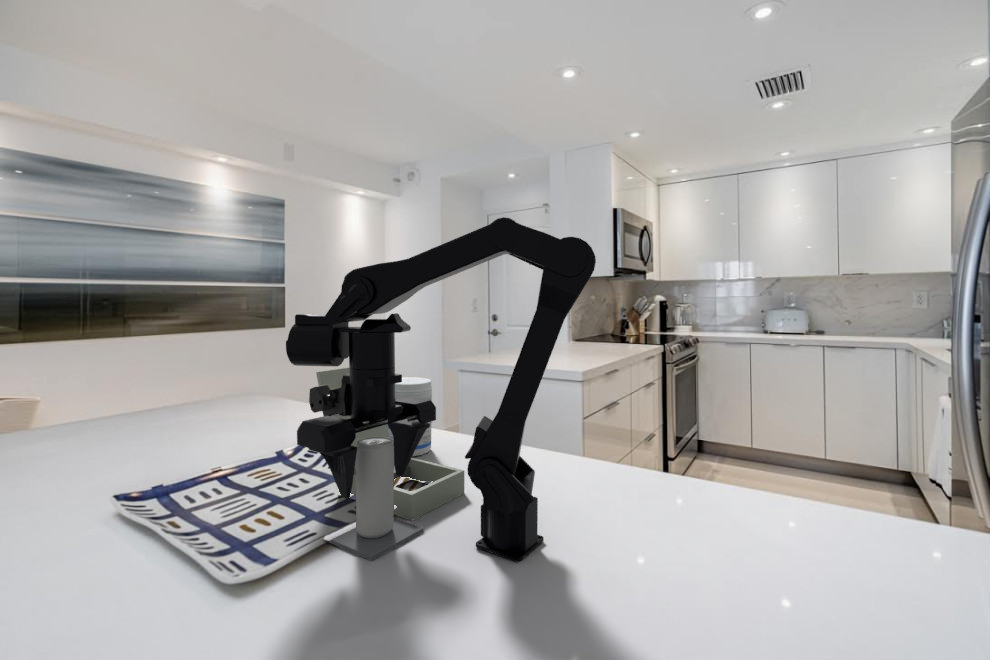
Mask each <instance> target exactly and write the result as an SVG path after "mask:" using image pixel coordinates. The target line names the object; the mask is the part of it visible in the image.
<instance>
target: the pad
mask: <svg viewBox="0 0 990 660" xmlns="http://www.w3.org/2000/svg"><path fill="white" fill-rule="evenodd" d="M423 532H424V527H422V526H419V525H416V524H413V523H410V522H407V521H404V520H403V519H402V520H401V519H399V518H396V517H395V516H393V528H392V530H391V531H390V532H389V533H388V534H386V535H384V536H382V537H379V538H365V537H362V536H360V535H359V533H358V532H357V530H356V529H354V530H352V531H350V532H348V533H346V534H344V535H342V536H340V537H338V538H335V539H333V540H332V541H331V542H328V543H330V544H331V545H334V546H337V547H339V548H340V549H343V550H345V551H347V552H350V553H352V554H354V555H357V556H359V557H362V558H364V559H365V560H368V561H371V562H373V561H375V560H377V559H378V558H380V557H382V556H383V555H385V554H386V553H389V552H391V551H392V550H394V549H395V548H397V547H399V546H401V545H403V544H404V543H406V542H408V541H409V540H411V539H413V538H415V537H416V536H418V535H420V534H421V533H423Z"/></svg>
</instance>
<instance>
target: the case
mask: <svg viewBox="0 0 990 660" xmlns="http://www.w3.org/2000/svg"><path fill="white" fill-rule="evenodd" d="M397 477H400V476H398V475H396V472H395V464H394V479H395V478H397ZM401 477H410V478H412V479H416V480H420V481H433V482H432V483H430V484H428V485H426V484H425V485H423V486H422V487H420V488H419V487H418V488H417V489H415V490H413V491H410V490H407V489H403V488H400V487H398V486H397V487H394V505H396V506H397V508H396V509H395V510H394V513H393V516H397V517H401V518H403V519H406V520H409V521H414V520H416V519H418V518H420V517H422V516H424V515H426V514H428V513H429V512H432V511H433V510H435V509H437V508H439V507H441V506H442V505H444V504H446V503H449V502H450V501H452V500H455V498H458V497H460V496H462V495H463V494H465V470H463V469H460V468H456V467H452V466H448V465H443V464H441V463H440V464H439V463H436V462H431V461H427V460H422V459H420V458H415V457H412V458H411V460H410V462H409V464H408V466H407V468H406V471H405V473H404V475H403V476H401ZM351 494H354V495H356V466H355V469H354V476H353V484H352V489H351Z"/></svg>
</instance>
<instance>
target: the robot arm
mask: <svg viewBox="0 0 990 660" xmlns="http://www.w3.org/2000/svg"><path fill="white" fill-rule="evenodd" d="M504 255H508V256H512V257H514V258H517V259H518V260H520V261H523V262H525V263H526V264H528V265H531V266H533V267H535V268H537V269H540V270H542V274H541V280H540V286H539V293H538V298H537V305H536V309H535V312H534V315H533V317H532V321H531V323H530V325H529V328H528V331H527V333H526V336H525V340H523V345H522V347H521V349H520V352H519V355H518V357H517V361H516V363H515V365H514V368H513V371H512V374H511V375H510V376H511V377H510V379H509V382H508V383H507V387H506V389H505V393H504V394H503V395H504V396H503V397H502V401H501V402H500V406H499V408H498V410H497V413H496V415H495V416H494V417H493V419H491V418H490V417H488V416H486V415H484V416H482V418H481V419H480V421H479V423H478V424H477V426H476V428H475V431H474V436H473V442H472V445H471V446H470V447H469V449H468V451H467V453H465V455H464V459H466V460H467V459H469V461H468V462H467V470H466V471H467V475H468V477H469V479H470V482H471V483H472V484H473V485H474V487H476V489H478V490H479V491H480V493H481V496H482V504H481V505H480V536H481V538H480V539H479V540H477V541H475V547H476V548H477V549H480V550H482V551H485V552H488V553H491V554H493V555H496V556H499V557H503V558H505V559H508V560H511V561H513V562H521V561H522V560H524V558H526V557H527V556H528V555H529V554H530V553H531V552H533V551H534V550H535V549H536V548H538V547H539V546H540V545H541V544H542V543H544V536H543V535H540V534H538V520H539V519H538V513H539V512H538V509H539V507H538V506H539V504H538V503H539V501H538V500H539V499H538V498H539V497H537V496H533V488H534V481H535V475H536V471H535V469H534V468H533V467H531V465H529V463H528V462H526V460H524V459H523V457H521V451H522V450H521V449H522V444H523V438H524V433H525V427H526V423H527V419H528V416H529V413H530V410H531V408H532V406H533V403H534V401H535V398H536V394H537V393H538V390H539V386H540V385H541V382H542V379H543V376H544V374H545V371H546V369H547V367H548V363H549V360H550V358H551V356H552V354H553V350H554V348H555V345H556V342H557V339H558V337H559V335H560V332H561V329H562V326H563V324H564V321H565V320H566V317H567V316H568V314H569V313H570V312H571V310H572V308H573V306H574V305H575V303H576V302H577V300H578V299H579V297H580V295H581V294H582V292H583V290H584V288H585V286H586V285H587V283H588V282H589V280H590V279H591V276H592V275H593V273H594V270H595V267H596V263H597V262H596V261H597V260H596V255H595V252H594V250H593V247H592V246H591V245H590V244H589V243H588V242H587V241H586V240H583V239H582V238H581V237H576V236H565V237H562V238H558V237H556V236H554V235H551V234H549V233H546V232H544V231H541V230H538V229H534V228H532V227H529V226H526V225H523V224H521V223H518V222H517V221H515V220H513V219H512V218H510V217H499V218H496V219H495V220H494V221H492V222H491V223H490V224H486V225H485V226H482V227H479V228H477V229H475V230H473V231H471V232H468V233H466V234H463V235H461V236H458V237H456V238H454V239H452V240H449V241H447V242H444V243H442V244H439V245H437V246H435V247H432V248H430V249H428V250H425V251H423V252H420V253H419V254H415V255H413V256H411V257H409V258H406V259H400V260H395V261H389V262H388V261H387V262H381V263H377V264H371V265H367V266H363V267H358V268H357V267H356V268H355V269H352V270H350V271H348V273H346V275H345V276H344V278H343V282H342V284H341V290H340V291H341V292H340V293H339V295H338V297H336V299H335V301H334V302H333V303H332V305H331V306H330V307H329V309H328V311H327V312H326V314H325V315H316V314H313V313H311V314H310V313H301V314H295V315H294V324H293V325H292V326H291V328H290V330H289V332H288V336H287V339H286V340H285V351H286V356H287V358H288V361H289V362H290V363H291V364H292V365H293V366H296V367H297V366H299V367H340V366H341V365H342V364H343V363H344V361H345V359H348V362H349V363H348V368H349V375H343V378H342V380H341V383H342V385H341V387H340V388H338V389H333V390H330V388H329V387H328V385H322V386H319V385H317V386H313V387H311V388H309V396H308V397H309V399H308V403H309V406H310V411H312V412H313V413H320V412H322V415H323V416H319V417H314V418H310V419H306V420H302V422H301V423H300V425H298V427H297V430H296V442H297V443H296V445H297V446H301V447H304V448H306V449H307V448H308V450H309V451H311V452H316V453H319V454H320V455H321V456H322V457H323V459H324V461H325V462H326V464H327V466H328V468H329V470H330V472H331V474H332V477H333V480H334V482H335V484H336V485H335V486H336V487H337V490H338V489H339V492H340V494H341V496H340V497H341V498H343V499H348V498H349V497H350V493H351V489H352V484H353V476H354V469H355V462H356V454H357V447H355V446H351V444H352V443H353V441H354V440H355V438H356V433H358V432H361V431H365V430H369V429H372V428H376V427H379V426H383V425H386V424H387V425H388V426H389V428H390V430H391V432H392V434H393V441H394V464H395V472H396V475H398V476H403V475H404V473H405V471H406V468H407V466H408V464H409V462H410V460H411V458H413V457H412V455H413V453H414V451H415V449H416V447H417V445H418V443H419V442H420V440H421V438H422V436H423V434H424V433H425V431H426V429H427V428H429V427H430V423H428V422H431V423H432V422H433V421H436V420H437V407H436V405H435V404H434V402H433V400H432V401H431V400H427V399H420V398H413V397H406V398H401V399H397V400H395V383H400V382H402V377H403V375H402V374H400V373H396V357H395V356H396V345H395V342H396V341H395V335H396V334H395V333H399V334H400V333H406V332H410V331H411V325H410V324H408V323H407V322H406V321H404V320H403V319H402V317H401V316H400V314H399V313H396V312H395V313H391V314H390V315H388V317H387V318H386V319H385V318H384V319H383V318H382V319H381V318H376V319H375V318H370V317H372V316H373V315H379V314H380V315H381V314H385V313H388V312H391V311H392V310H394V309H395V308H397V307H399V306H400V305H402V304H403V303H405V302H406V301H408V300H409V299H410V298H411V297H413V296H414V295H415V294H417V293H418V292H419V291H421V290H422V289H424V288H426V287H428V286H430V285H432V284H435V283H437V282H440V281H442V280H445V279H448V278H450V277H452V276H455V275H457V274H460V273H462V272H465V271H466V270H469V269H472V268H474V267H477V266H480V265H481V264H484V263H486V262H489V261H491V260H494V259H496V258H498V257H501V256H504ZM360 321H361V322H362V324H361V325H360V326H350V325H349V323H350V322H352V323H353V322H360ZM335 414H339V415H341V416H350V419H341V418H336V417H331V416H332V415H335ZM363 422H367V423H364V424H363Z"/></svg>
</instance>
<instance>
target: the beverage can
mask: <svg viewBox="0 0 990 660" xmlns="http://www.w3.org/2000/svg"><path fill="white" fill-rule="evenodd" d="M392 443H393V440H392V439H391V438H388V437H368V438H363V439H360V440H358V441H357V445H358V446H357V454H356V501H355V512H356V513H355V518H356V519H355V522H356V530H357V532H358V533H359V535H360V536H362V537H365V538H379V537H382V536H384V535H386V534H388V533H389V532H390V531H391V530H392V528H393V517H394V514H393V513H394V445H393V444H392Z"/></svg>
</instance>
